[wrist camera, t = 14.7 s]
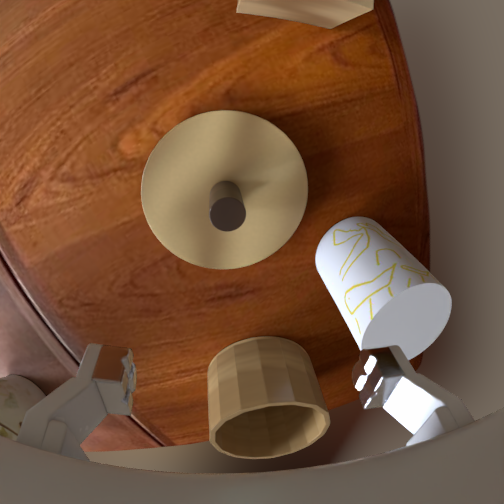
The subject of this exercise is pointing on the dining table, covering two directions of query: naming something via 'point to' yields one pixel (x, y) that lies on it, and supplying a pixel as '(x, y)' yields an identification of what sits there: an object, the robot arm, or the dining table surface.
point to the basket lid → (224, 189)
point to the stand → (308, 10)
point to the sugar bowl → (16, 403)
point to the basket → (264, 399)
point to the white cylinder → (381, 287)
